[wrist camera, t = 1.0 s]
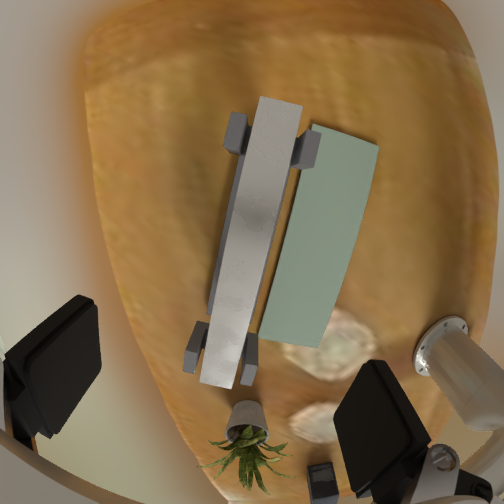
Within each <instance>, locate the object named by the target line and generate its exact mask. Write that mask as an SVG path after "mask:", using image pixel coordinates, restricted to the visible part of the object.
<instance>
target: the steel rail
mask: <svg viewBox="0 0 504 504" xmlns="http://www.w3.org/2000/svg"><path fill="white" fill-rule="evenodd" d="M302 108H303V106H300V105H296V104H292V103H288V102H284V101H280V100H276V99H272V98H267V97H262V96H260V99H259V103H258V107H257V111H256V115H255V119H254V123H253V127H252V131H251V135H250V139H249V144H248V148H247V152H246V156H245V160H244V165H243V169H242V173H241V177H240V182H239V186H238V190H237V195H236V199H235V204H234V208H233V213H232V217H231V222H230V227H229V231H228V236H227V241H226V245H225V250H224V255H223V260H222V265H221V269H220V274H219V279H218V284H217V289H216V294H215V299H214V305H213V310H212V315H211V320H210V326H209V331H208V336H207V342H206V347H205V353H204V358H203V364H202V370H201V375H200V381H199V382H201V383H205V384H209V385H214V386H218V387H223V388H228V389H232V385H233V381H234V378H235V374H236V371H237V367H238V363H239V360H240V356H241V352H242V349H243V345H244V341H245V337H246V334H247V330H248V326H249V322H250V319H251V315H252V311H253V307H254V304H255V300H256V296H257V292H258V288H259V284H260V280H261V277H262V273H263V269H264V265H265V261H266V257H267V253H268V249H269V245H270V241H271V237H272V233H273V229H274V225H275V221H276V217H277V213H278V209H279V205H280V201H281V197H282V193H283V189H284V185H285V181H286V176H287V172H288V168H289V164H290V160H291V156H292V151H293V147H294V143H295V139H296V134H297V130H298V126H299V121H300V117H301V113H302Z"/></svg>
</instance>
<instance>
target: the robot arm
mask: <svg viewBox="0 0 504 504" xmlns="http://www.w3.org/2000/svg"><path fill="white" fill-rule="evenodd" d="M467 334H468V328H467V324H466V323H465V321H464V320H463V319H462V318H460V317H458V316H448V317H445V318H443V319H441V320H439V321H438V322H436V323H435V324H434V325H433V326H432V327H430V328H429V329H428V330H427V332H426V333H425V334H424V335H423V337H422V338H421V339H420V341H419V343H418V345H417V347H416V349H415V352H414V356H413V366H414V368H415V370H416V371H417V372H418V373H419V374H420V375H423V376H431V377H432V378H433V379H434V381H435V382H436V383H437V385H438V386H439V388H440V389H441V390H442V392H443V393H444V395H445V396H446V397H447V399H448V400H449V402H450V403H451V405H452V406H453V408H454V409H455V410H456V412H457V413H458V415H459V416H460V418H461V419H462V421H463V422H464V423H465V425H466V426H467V427H468V428H470V429H472V430H474V431H493V434H492V436H491V437H490V438H489V439H488V440H487V441H486V443H485V444H484V445H483V446H482V447H480V449H478V450H477V451H476V452H475V453H474V454H473V455H472V456H471V457H470V458H468V459H467V460H466V461H465V462H464V463H462V465H460V460H459V457H458V455H457V453H456V451H455V450H454V449H452V448H451V447H450V446H448V445H445V444H435V445H432V446H431V447H430V448H428V446H427V445H428V444H429V443H430V442H431V438H430V436H429V434H428V433H427V431H426V429H425V427H424V425H423V424H422V422H421V420H420V418H419V417H418V415H417V413H416V411H415V409H414V408H413V406H412V404H411V403H410V401H409V399H408V397H407V396H406V394H405V392H404V391H403V389H402V387H401V386H400V384H399V382H398V381H397V379H396V377H395V376H394V374H393V372H392V371H391V369H390V368H389V366H388V364H387V363H386V362H385V361H384V360H373V359H371V360H369V361H367V363H364V364H363V365H362V367H361V369H360V370H359V372H358V374H357V376H356V378H355V380H354V381H353V383H352V385H351V387H350V388H349V390H348V392H347V393H346V395H345V397H344V398H343V400H342V402H341V403H340V405H339V407H338V408H337V410H336V411H335V413H334V417H333V421H334V425H335V429H336V432H337V436H338V440H339V443H340V447H341V451H342V455H343V459H344V463H345V466H346V470H347V474H348V478H349V482H350V486H351V490H352V491H353V492H355V493H356V497H357V499H359V498H364V497H370V496H371V495H372V497H373V501H372V503H371V504H504V499H502V500H501V499H500V498H498V496H499V495H501V494H502V493H503V492H504V370H503V369H502V368H501V367H500V366H499V365H498V364H497V363H496V362H495V361H494V360H493V359H492V358H491V357H490V356H489V355H488V354H487V353H486V352H485V351H483V349H482V348H481V347H480V346H478V345H477V344H476V343H475V342H474V341H473V340H472V339H471V338H470V337H469V336H468V335H467ZM4 355H5V358H6V359H5V360H4V361H3V362H2V360H1V358H0V504H143V503H140V502H137V501H134V500H131V499H128V498H126V497H123V496H120V495H118V494H115V493H112V492H110V491H108V490H105V489H103V488H100V487H98V486H96V485H94V484H92V483H89V482H87V481H85V480H83V479H81V478H79V477H77V476H75V475H73V474H71V473H69V472H67V471H66V470H64V469H62V468H60V467H58V466H57V465H55V464H53V463H51V462H49V461H48V460H46V459H44V458H43V457H41V456H40V455H38V450H37V446H36V441H35V435H36V434H37V432H40V433H41V434H42V435H44V436H46V437H47V438H49V439H51V437H52V436H53V434H58V433H59V432H60V430H61V429H62V427H63V426H64V424H65V422H66V421H67V419H68V418H69V417H70V415H71V413H72V412H73V410H74V409H75V407H76V406H77V404H78V403H79V401H80V400H81V399H82V397H83V396H84V394H85V393H86V391H87V389H88V388H89V387H90V385H91V384H92V382H93V381H94V380H95V378H96V377H97V375H98V374H99V372H100V370H101V366H102V363H101V353H100V343H99V328H98V308H97V306H96V305H95V304H94V301H93V300H92V299H90V298H87V297H85V296H82V295H76V296H75V297H74V298H72V299H71V300H70V301H68V302H67V303H66V304H64V305H63V306H62V307H61V308H59V309H58V310H57V311H56V312H54V313H53V314H52V315H50V316H49V317H48V318H47V319H46V320H44V321H43V322H42V323H41V324H39V325H38V326H37V327H36V328H34V329H33V330H32V331H31V332H30V333H28V334H27V335H26V336H25V337H24V338H23V339H21V340H20V341H19V342H18V343H17V344H16V345H14V346H13V347H12V348H11V349H10V350H9V351H8V352H7V353H5V354H4Z"/></svg>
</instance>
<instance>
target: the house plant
mask: <svg viewBox="0 0 504 504" xmlns="http://www.w3.org/2000/svg"><path fill="white" fill-rule="evenodd" d="M225 437H226V439H227V440H226V441H223V442H211V441H209V440H208V441H209V442H210V443H211V444H212V445H217V446H218V445H220V444H223V443H226V442H227V441H229V442H231V444H230V445H228V446H227V447H219V446H218V447H219V448H221V449H223V450H228V451H229V450H231V449H233V448H235V447H236V448H235V449H234V450H233V451H234V452H233V451H232V452H233V453H232V452H230V453H229V454H228V455H227V456H225V457H224V458H222V459H220V460H217V461H216V462H214V463H212V464H209V465H203V466H198V467H204V468H206V467H211V466H214V465H216V464H218V463H220V462H222V461H223V460H224V459H226V458H227V457H228V456H229V455H230V454H231V453H232V455H231V456H230V457H229V458H228V459H227V460H225V461H224V462H222V463H221V464H220V465H224V466H223V467H222V469H221V470H220V471H219V473H218V474H217V475H216V477H217V476H218V475H219V474H221V473H222V472H223V471H224V469H225V468H226V467H227V466H228V465H229V464H230V463H231V462H232V461H233V460H234V459H235V458H240V462H239V479H240V480H239V481H240V482H241V484H242V485H243V487H244V485H245V486H246V487H247V489H248V486H249V489H248V490H249V491H250V490H251V487H252V481H253V470H254V474H255V477H256V480H257V483H258V486H259V487H260V488H261V489H262V490H263V491H264V492H265V493H266V494H269V493H268V492H267V490H266V489H265V487H264V485H263V482H262V478H261V474H260V472H259V470H258V468H257V467H260V466H263V465H266V466H267V467H268V468H269V469H271V470H272V471H273V472H274V473H276V474H278V475H279V476H283V477H289V476H287V475H286V476H284V475H282V474H279V473H277V472H275V471H274V470H273V469H272V468H271V467H270V466H269V465H268V464H267V462H266V460H264V459H263V458H262V457H264V458H266V459H270V458H267V457H266V456H265V455H264V454H263V453H262V452H261V451H260V450H259V448H258V447H257V446H258V445H259V446H260V447H262V446H261V444H264V445H266V446H267V447H269V448H265V447H262V448H264V449H265V450H268V451H275V452H276V453H278V454H280V455H283V456H292V455H286V454H283V453H280V452H279V451H280V450H282V449H283V448H284V447H285V446H286V445H287V443H288V442H287V443H286V444H282V445H279V446H276V447H271V446H269V445H267V444H266V443H265V442H266V441H267V440H268V438H269V432H268V428H267V424H266V420H265V416H264V412H263V408H262V406H261V405H260V404H259V403H258V402H255V401H251V400H244V401H240V402H238V403H236V404H235V405H234V407H233V410H232V413H231V416H230V419H229V422H228V424H227V427H226V430H225ZM261 456H262V457H261ZM276 457H277V456H276ZM276 457H274V458H276ZM274 458H271V459H274ZM282 458H283V457H281V458H278V459H275V460H272V461H268V462H272V463H274V462H276V461H279V460H281V459H282ZM248 472H249V475H248V481H247V473H248ZM216 477H215V478H216ZM215 478H214V479H215ZM289 478H297V477H289ZM247 483H248V485H247ZM237 484H238V483H237ZM269 495H270V494H269Z"/></svg>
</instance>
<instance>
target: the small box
mask: <svg viewBox="0 0 504 504" xmlns="http://www.w3.org/2000/svg"><path fill="white" fill-rule="evenodd" d="M307 483H308V488H309V494H310V502H311V504H337V501H338V498H339V490H338V485H337V481H336V476H335V472H334V468H333V464H332V462H329V463H324V464H319V465H313V466H308V467H307Z"/></svg>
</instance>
